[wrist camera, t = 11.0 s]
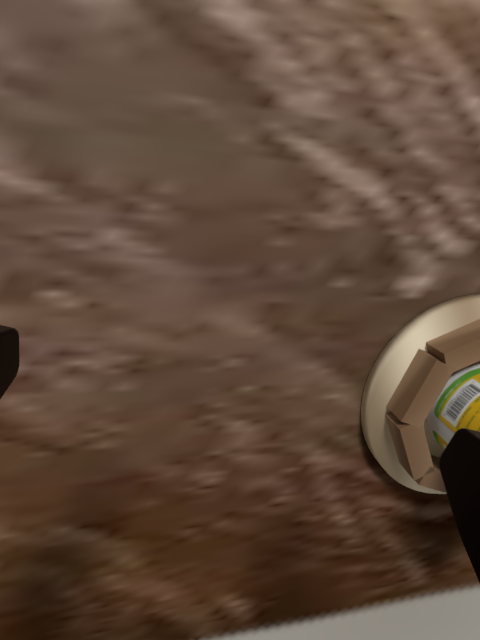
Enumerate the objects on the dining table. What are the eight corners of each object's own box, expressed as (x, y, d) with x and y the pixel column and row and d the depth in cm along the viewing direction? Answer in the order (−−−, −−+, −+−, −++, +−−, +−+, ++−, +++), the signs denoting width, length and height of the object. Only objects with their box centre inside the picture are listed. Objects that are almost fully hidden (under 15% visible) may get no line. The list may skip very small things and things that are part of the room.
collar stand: (388, 512, 27) (410, 544, 25) (335, 348, 22) (356, 368, 20) (561, 433, 27) (599, 457, 25) (542, 258, 23) (586, 268, 21)
